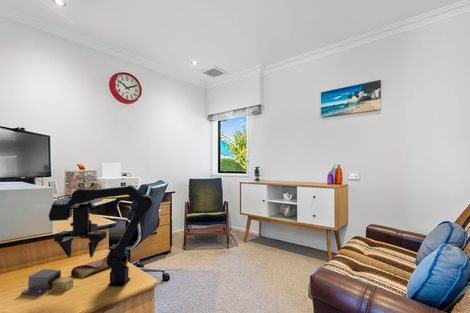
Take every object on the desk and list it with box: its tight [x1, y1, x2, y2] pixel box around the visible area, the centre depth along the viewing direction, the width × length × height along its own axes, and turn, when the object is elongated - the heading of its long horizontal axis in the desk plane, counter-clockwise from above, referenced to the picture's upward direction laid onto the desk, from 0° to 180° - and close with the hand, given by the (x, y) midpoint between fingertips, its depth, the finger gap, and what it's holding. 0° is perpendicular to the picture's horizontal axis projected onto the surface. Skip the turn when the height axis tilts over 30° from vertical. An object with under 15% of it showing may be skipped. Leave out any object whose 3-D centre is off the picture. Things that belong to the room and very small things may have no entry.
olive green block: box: [52, 276, 75, 292], centre depth 97 cm, size 6×4×4 cm, turn 85°
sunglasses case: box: [70, 256, 111, 280], centre depth 113 cm, size 18×7×7 cm, turn 151°
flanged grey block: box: [20, 268, 62, 296], centre depth 97 cm, size 8×12×6 cm, turn 175°
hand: (80, 257), depth 98 cm, fingers open, 9 cm apart
